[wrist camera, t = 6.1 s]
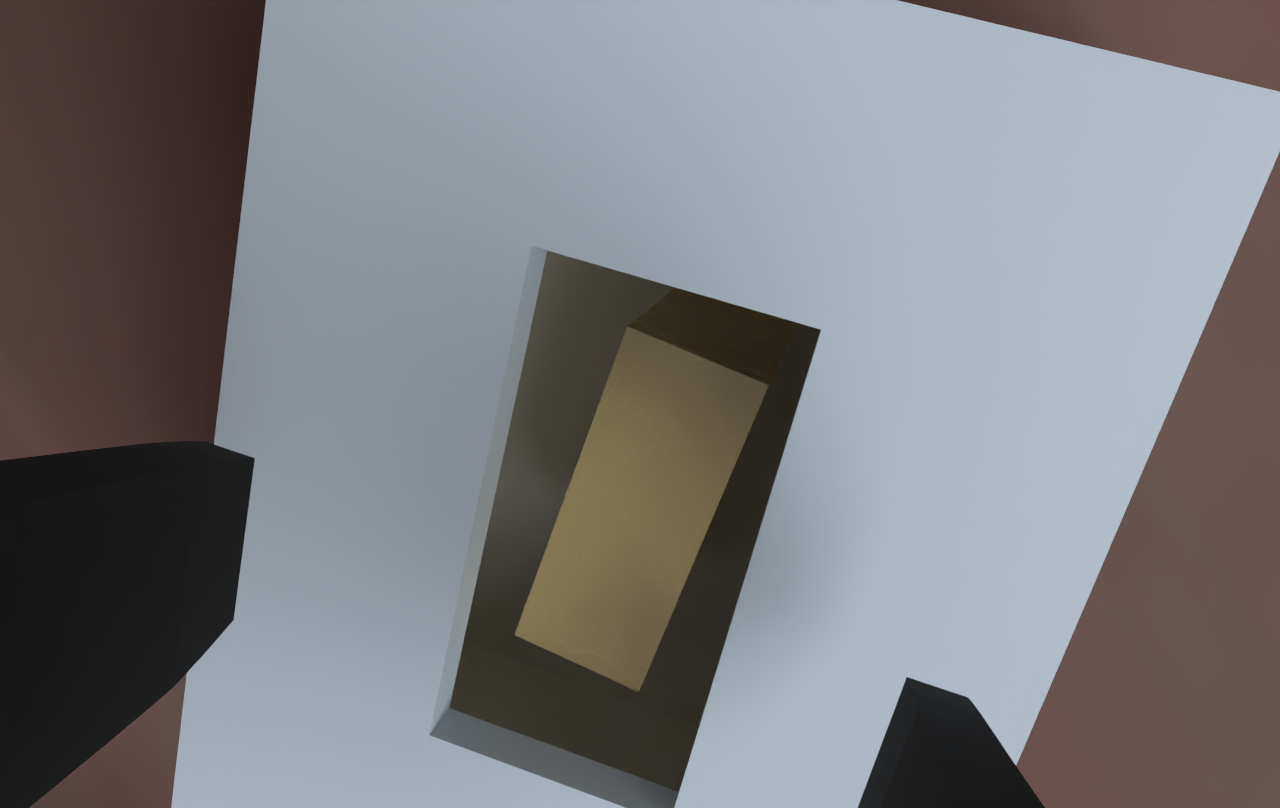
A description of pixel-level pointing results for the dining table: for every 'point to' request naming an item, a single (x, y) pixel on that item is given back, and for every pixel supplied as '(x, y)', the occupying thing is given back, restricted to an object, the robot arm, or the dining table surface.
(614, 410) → the tan wooden block
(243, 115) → the dining table surface
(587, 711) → the tissue box
